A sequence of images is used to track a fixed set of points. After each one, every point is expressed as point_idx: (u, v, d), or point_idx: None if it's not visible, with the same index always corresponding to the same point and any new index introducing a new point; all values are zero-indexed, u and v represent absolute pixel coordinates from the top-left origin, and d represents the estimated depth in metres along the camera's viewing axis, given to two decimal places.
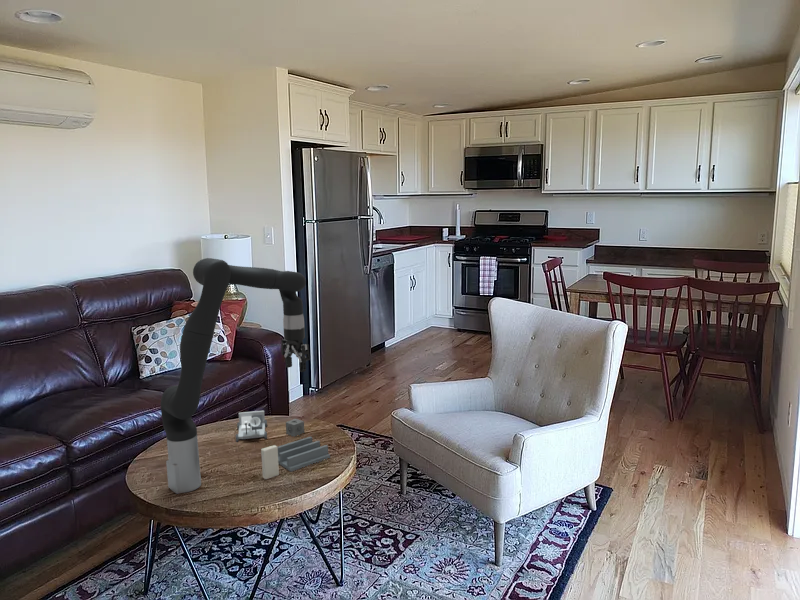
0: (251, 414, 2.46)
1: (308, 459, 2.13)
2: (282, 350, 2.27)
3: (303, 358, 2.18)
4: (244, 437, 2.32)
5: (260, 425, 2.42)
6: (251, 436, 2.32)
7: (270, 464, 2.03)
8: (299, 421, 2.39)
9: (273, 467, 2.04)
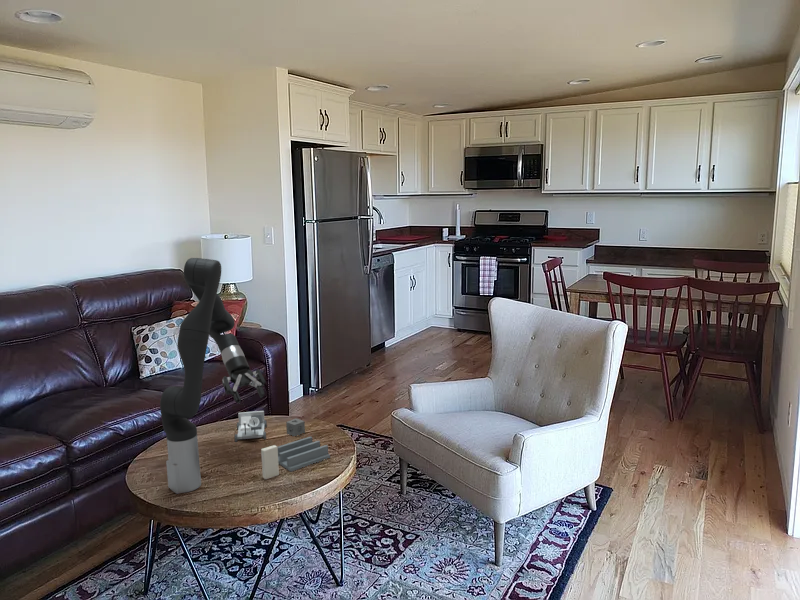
0: (250, 415, 2.46)
1: (308, 459, 2.13)
2: (228, 386, 2.10)
3: (263, 380, 2.18)
4: (243, 437, 2.32)
5: (259, 425, 2.42)
6: (250, 436, 2.32)
7: (270, 464, 2.03)
8: (300, 421, 2.40)
9: (273, 467, 2.04)
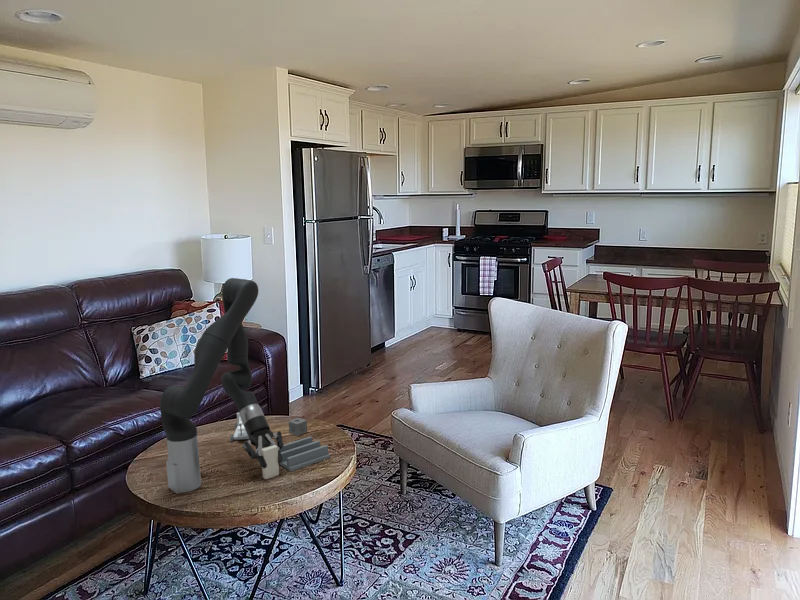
0: None
1: (308, 459, 2.13)
2: (252, 451, 2.01)
3: (281, 444, 2.07)
4: (238, 438, 2.31)
5: None
6: (245, 437, 2.32)
7: (270, 464, 2.03)
8: (302, 420, 2.40)
9: (273, 467, 2.04)
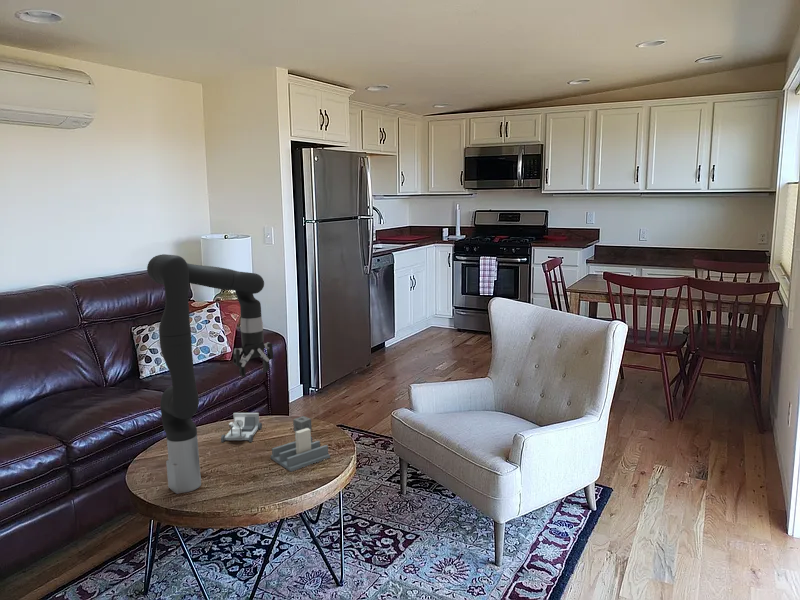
0: (245, 416, 2.44)
1: (308, 459, 2.13)
2: (238, 361, 2.11)
3: (272, 356, 2.19)
4: (228, 438, 2.31)
5: (251, 427, 2.40)
6: (235, 438, 2.31)
7: (303, 446, 2.14)
8: (306, 419, 2.42)
9: (306, 448, 2.15)
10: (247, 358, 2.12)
